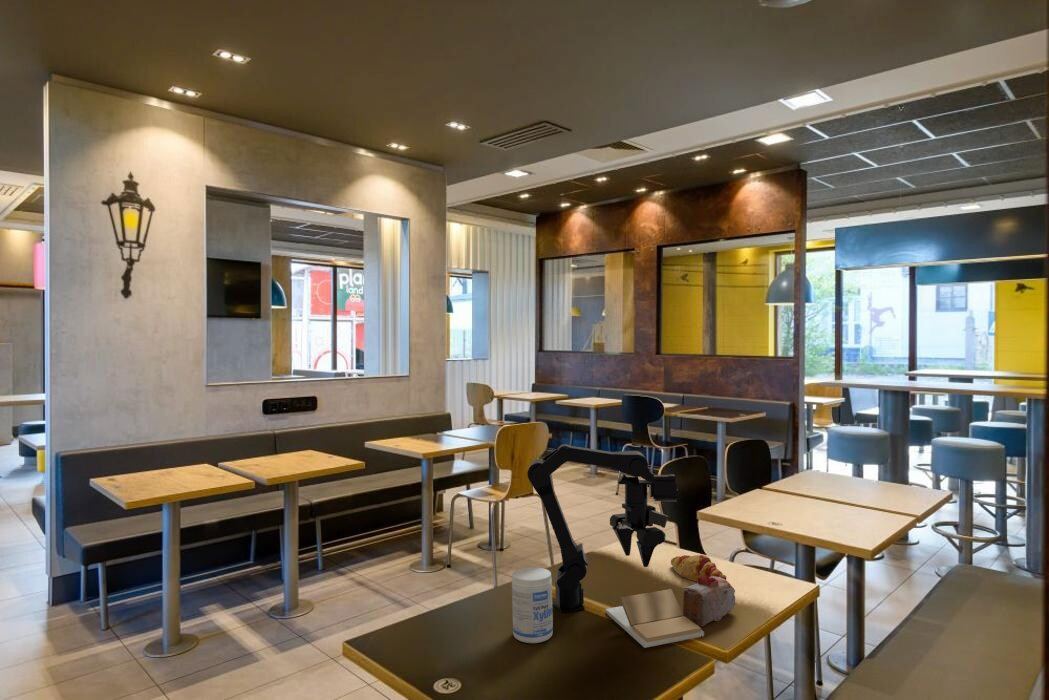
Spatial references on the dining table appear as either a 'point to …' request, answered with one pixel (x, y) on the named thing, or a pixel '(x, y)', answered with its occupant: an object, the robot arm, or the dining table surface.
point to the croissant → (695, 567)
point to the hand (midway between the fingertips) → (636, 561)
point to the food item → (708, 600)
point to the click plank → (651, 607)
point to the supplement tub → (532, 604)
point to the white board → (657, 629)
